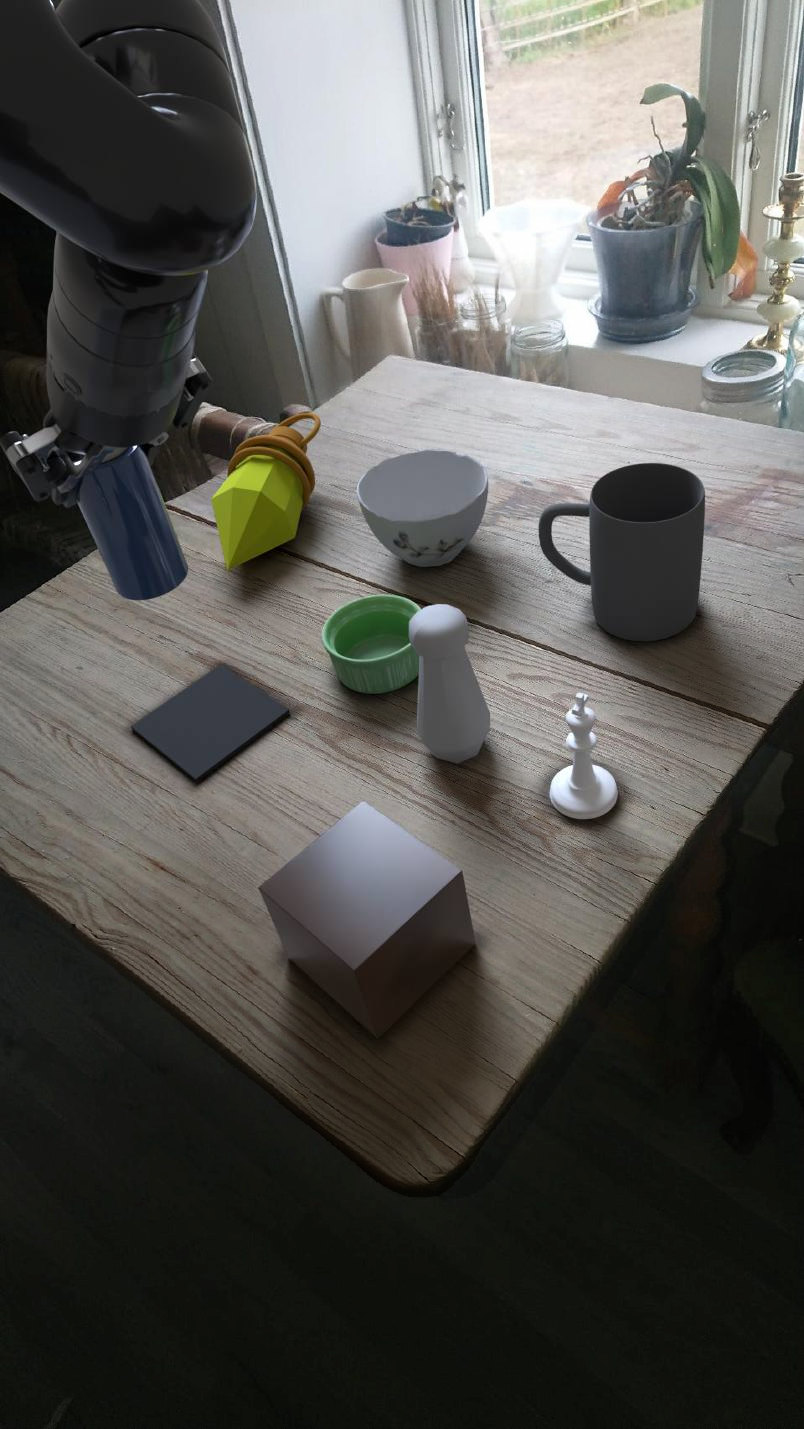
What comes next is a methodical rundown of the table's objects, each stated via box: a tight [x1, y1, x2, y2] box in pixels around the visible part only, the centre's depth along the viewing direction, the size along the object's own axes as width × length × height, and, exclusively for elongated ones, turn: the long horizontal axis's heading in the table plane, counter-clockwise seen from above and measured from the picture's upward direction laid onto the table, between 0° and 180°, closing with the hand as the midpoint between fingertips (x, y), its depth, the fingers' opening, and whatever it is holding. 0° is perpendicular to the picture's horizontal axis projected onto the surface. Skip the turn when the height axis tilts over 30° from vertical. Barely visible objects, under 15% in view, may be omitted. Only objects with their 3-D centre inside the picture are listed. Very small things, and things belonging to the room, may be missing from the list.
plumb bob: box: [210, 412, 322, 571], centre depth 102 cm, size 9×9×25 cm
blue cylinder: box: [63, 444, 189, 601], centre depth 69 cm, size 6×6×12 cm
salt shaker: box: [409, 603, 491, 764], centre depth 73 cm, size 6×6×13 cm
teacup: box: [356, 448, 489, 568], centre depth 95 cm, size 15×12×8 cm
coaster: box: [130, 663, 291, 783], centre depth 84 cm, size 10×10×1 cm
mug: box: [538, 462, 706, 642], centre depth 82 cm, size 14×9×12 cm
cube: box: [257, 800, 477, 1040], centre depth 62 cm, size 9×9×8 cm
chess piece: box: [549, 692, 619, 820], centre depth 68 cm, size 5×5×10 cm
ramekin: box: [321, 594, 422, 695], centre depth 84 cm, size 9×9×4 cm
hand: (101, 474), depth 69 cm, fingers closed on blue cylinder, 5 cm apart
